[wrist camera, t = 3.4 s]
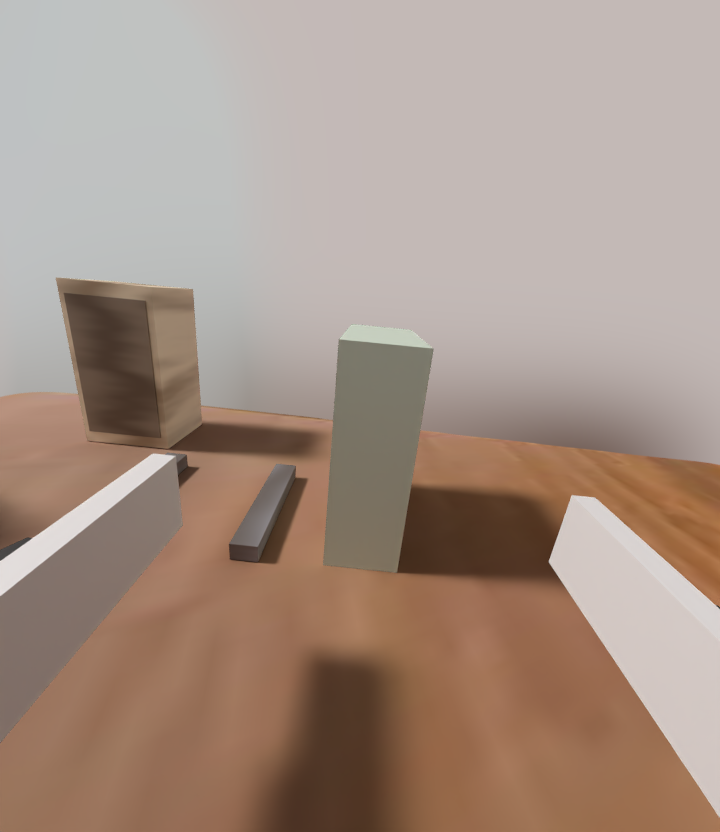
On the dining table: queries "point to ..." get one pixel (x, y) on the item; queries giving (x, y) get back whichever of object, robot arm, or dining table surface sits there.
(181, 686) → the dining table surface
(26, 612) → the robot arm
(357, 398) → the pale green block
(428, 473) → the dining table surface
